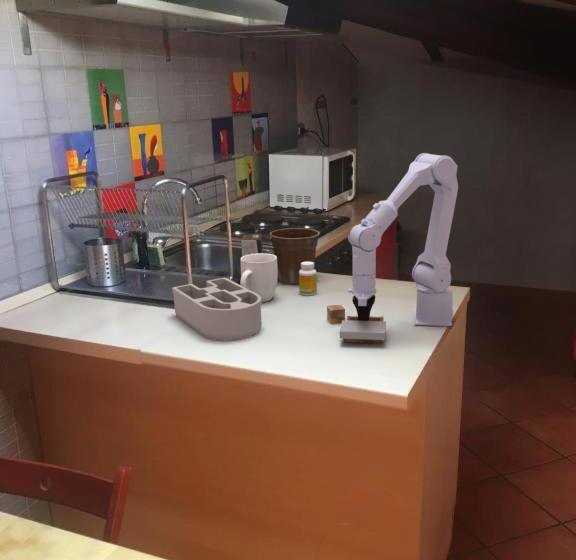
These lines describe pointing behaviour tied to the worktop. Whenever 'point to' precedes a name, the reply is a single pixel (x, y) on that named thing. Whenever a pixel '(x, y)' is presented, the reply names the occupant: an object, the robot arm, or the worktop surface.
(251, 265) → the mug
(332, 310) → the beech block
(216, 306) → the compartment caddy
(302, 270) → the supplement bottle
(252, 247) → the coffee box
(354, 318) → the frame
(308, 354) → the worktop surface
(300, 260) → the plant pot
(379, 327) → the lid
